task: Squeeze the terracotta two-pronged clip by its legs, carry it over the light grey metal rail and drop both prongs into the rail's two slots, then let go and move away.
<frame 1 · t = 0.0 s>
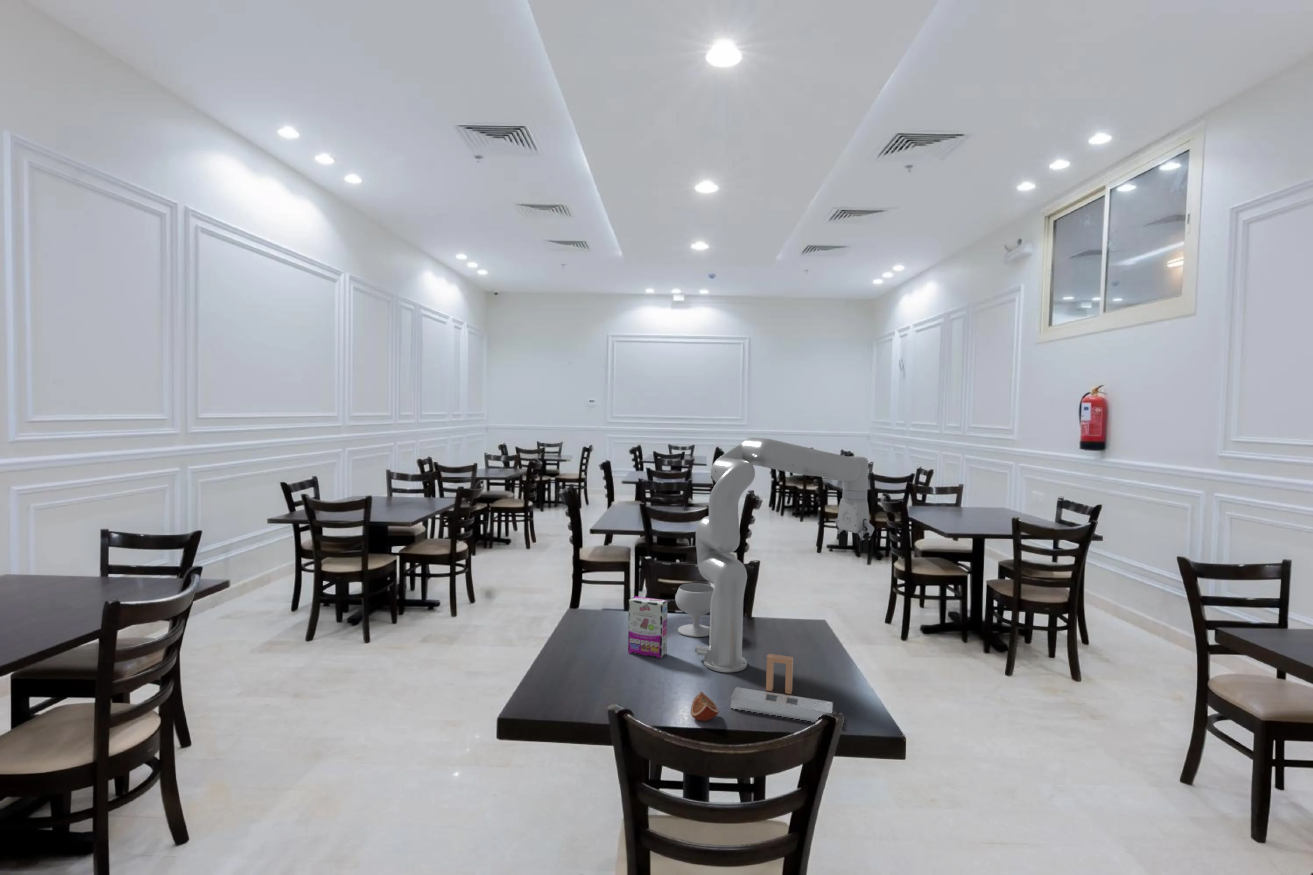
hand: (852, 549, 198), 31 cm above the table, tool pointing down, fingers open, 9 cm apart
chalice: (695, 632, 209), on the table
fruit slice: (704, 719, 149), on the table
rail: (781, 711, 153), on the table
clip: (779, 690, 165), on the table
candy bar box: (647, 653, 189), on the table
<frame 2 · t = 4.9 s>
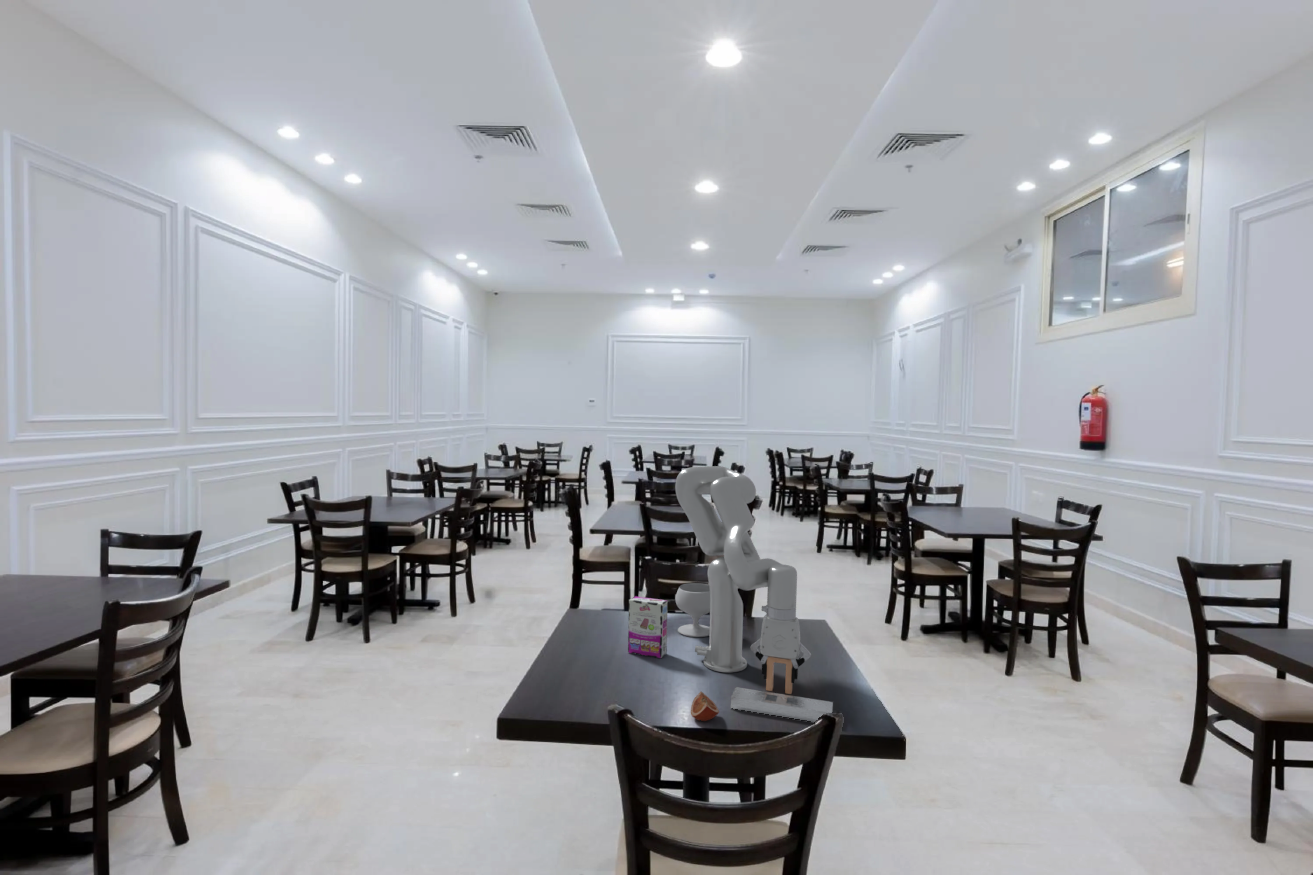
hand: (779, 678, 165), 3 cm above the table, tool pointing down, fingers closed on clip, 6 cm apart
clip: (779, 690, 165), on the table, touching gripper
everything else where it was.
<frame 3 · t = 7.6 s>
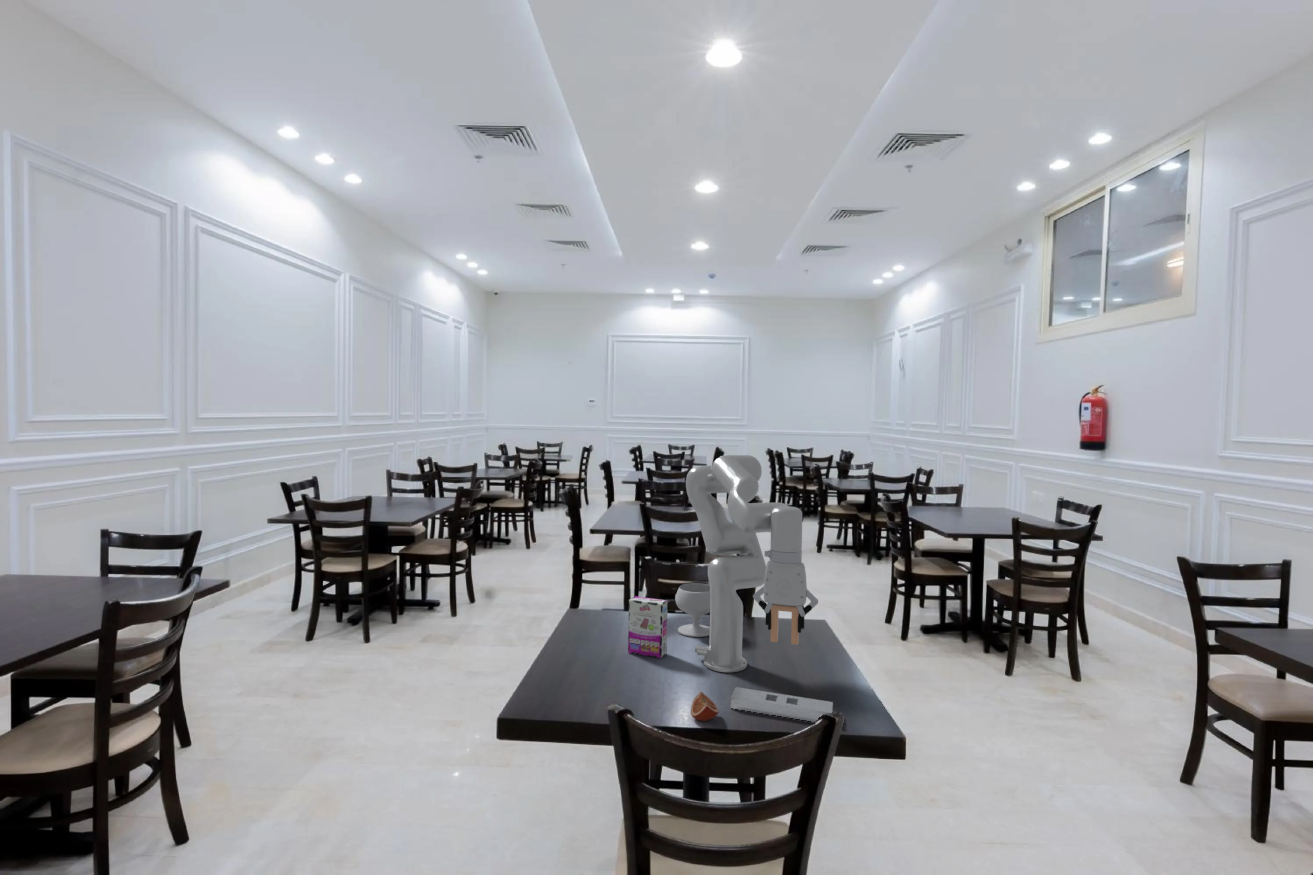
hand: (784, 629, 154), 20 cm above the table, tool pointing down, fingers closed on clip, 6 cm apart
clip: (784, 641, 154), point 17 cm above the table, touching gripper
everything else where it was.
when the fingers open (5 cm above the table, at t = 10.4 s): clip drops 1 cm, on the table.
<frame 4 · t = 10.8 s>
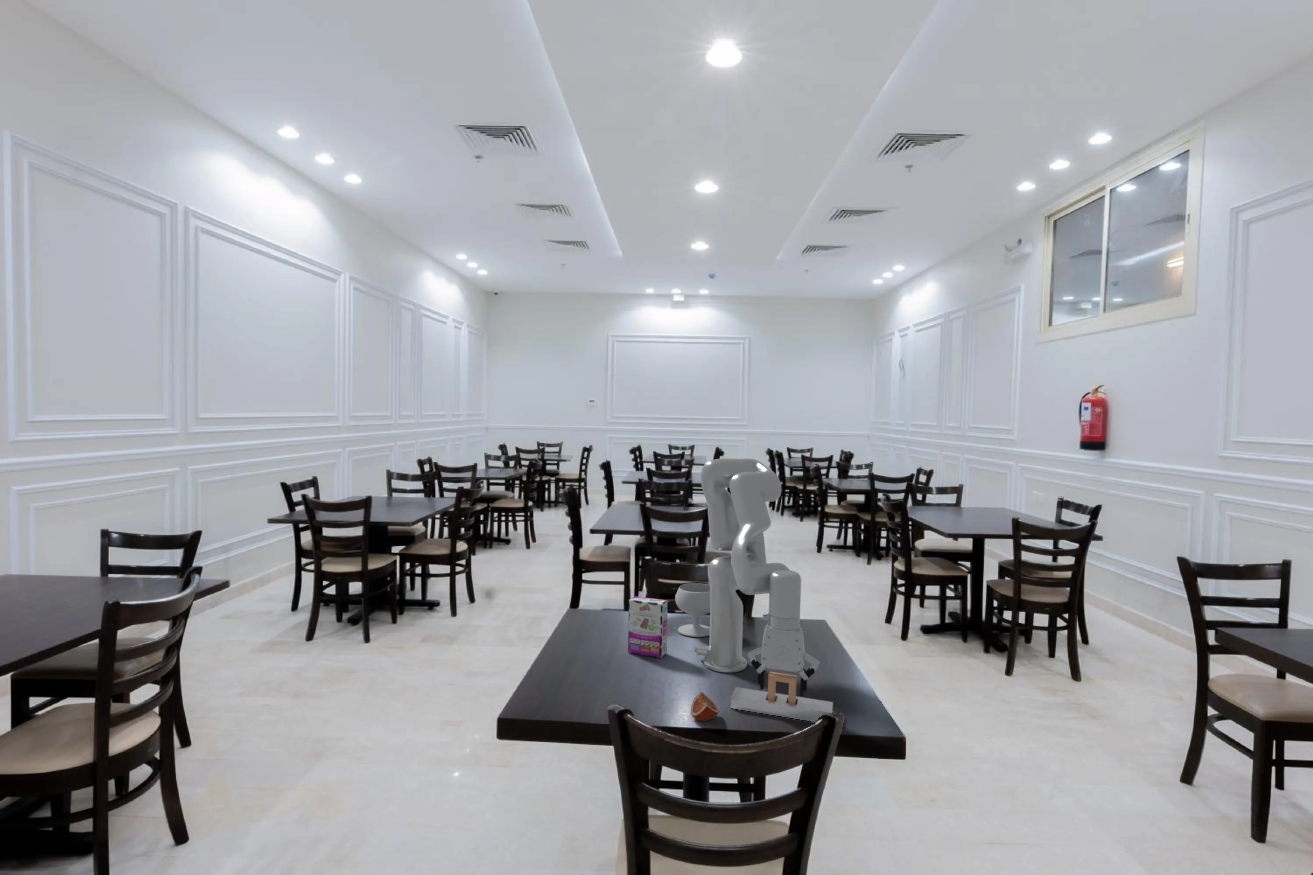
hand: (782, 690, 153), 5 cm above the table, tool pointing down, fingers open, 9 cm apart
clip: (781, 711, 153), on the table
everything else where it was.
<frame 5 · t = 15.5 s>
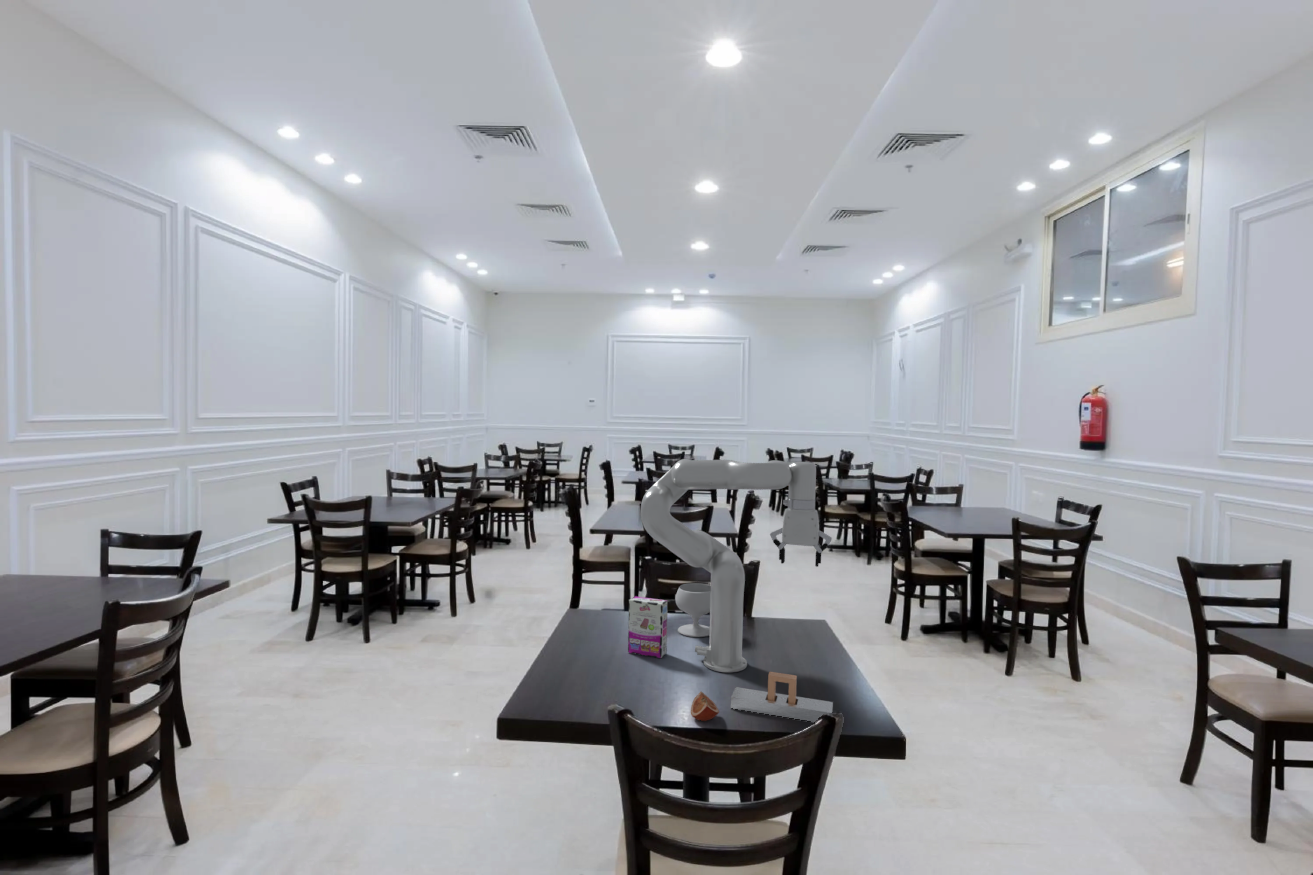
hand: (799, 564, 180), 30 cm above the table, tool pointing down, fingers open, 9 cm apart
nothing on the table moved.
at the end: clip 0.0 cm off-centre on the rail, point 0.0 cm above the rail's base; clip tilted 0°; the gripper is holding nothing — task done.
